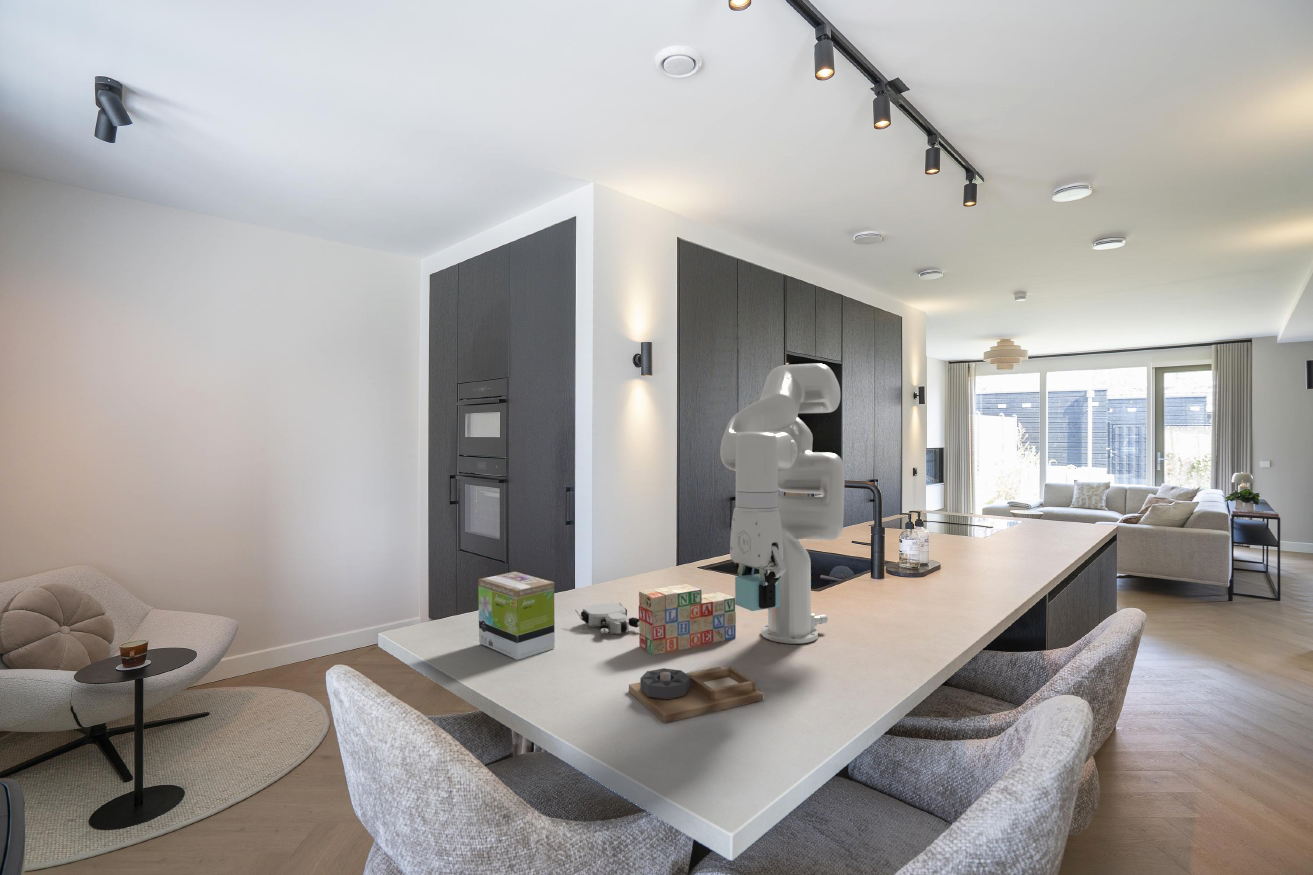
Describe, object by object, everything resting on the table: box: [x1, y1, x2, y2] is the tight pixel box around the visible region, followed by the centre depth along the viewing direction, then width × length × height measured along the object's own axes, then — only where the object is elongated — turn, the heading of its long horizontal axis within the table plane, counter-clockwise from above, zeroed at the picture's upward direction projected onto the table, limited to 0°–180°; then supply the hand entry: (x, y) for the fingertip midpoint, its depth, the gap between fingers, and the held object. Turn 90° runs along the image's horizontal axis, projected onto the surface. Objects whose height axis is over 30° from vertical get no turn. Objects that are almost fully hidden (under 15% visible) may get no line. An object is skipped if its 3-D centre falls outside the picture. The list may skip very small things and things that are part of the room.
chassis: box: [628, 666, 764, 724], centre depth 111 cm, size 19×14×4 cm
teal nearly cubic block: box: [734, 573, 780, 612], centre depth 113 cm, size 6×5×5 cm
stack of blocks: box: [638, 583, 737, 655], centre depth 139 cm, size 21×6×12 cm, turn 119°
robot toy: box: [574, 601, 639, 635], centre depth 150 cm, size 12×4×15 cm
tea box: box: [477, 571, 556, 661], centre depth 137 cm, size 15×10×15 cm, turn 47°
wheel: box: [639, 667, 690, 699], centre depth 110 cm, size 8×8×2 cm
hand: (757, 602), depth 113 cm, fingers closed on teal nearly cubic block, 5 cm apart
